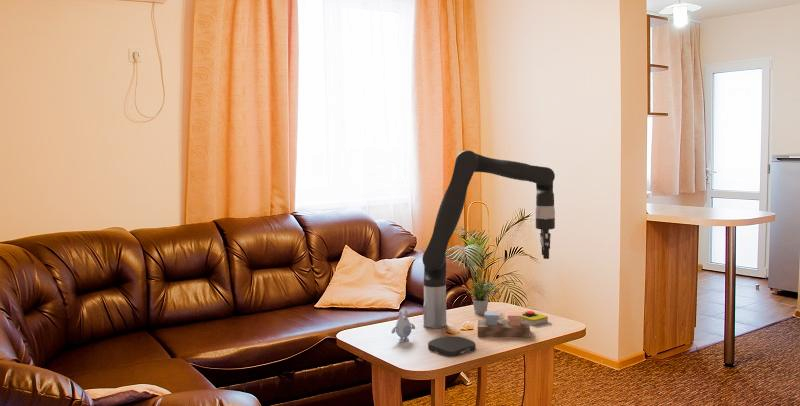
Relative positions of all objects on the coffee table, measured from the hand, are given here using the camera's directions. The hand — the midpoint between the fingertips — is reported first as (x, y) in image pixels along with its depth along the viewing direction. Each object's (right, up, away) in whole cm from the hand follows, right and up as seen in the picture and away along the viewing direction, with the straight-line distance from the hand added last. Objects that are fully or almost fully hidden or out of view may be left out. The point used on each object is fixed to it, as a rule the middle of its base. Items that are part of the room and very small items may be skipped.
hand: (545, 256), depth 236 cm
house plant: (-22, -28, +26) cm, 44 cm away
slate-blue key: (-22, -26, -3) cm, 35 cm away
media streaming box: (-40, -33, -20) cm, 55 cm away
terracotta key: (-13, -26, -5) cm, 30 cm away
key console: (-18, -30, -4) cm, 35 cm away
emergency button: (-3, -29, +12) cm, 32 cm away
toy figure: (-57, -32, -10) cm, 66 cm away
